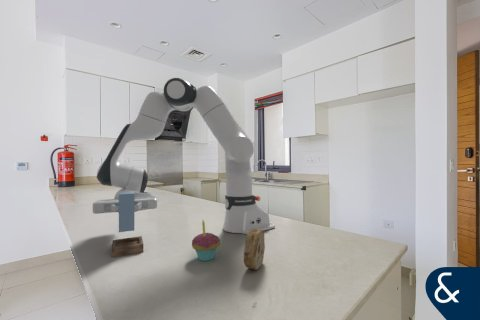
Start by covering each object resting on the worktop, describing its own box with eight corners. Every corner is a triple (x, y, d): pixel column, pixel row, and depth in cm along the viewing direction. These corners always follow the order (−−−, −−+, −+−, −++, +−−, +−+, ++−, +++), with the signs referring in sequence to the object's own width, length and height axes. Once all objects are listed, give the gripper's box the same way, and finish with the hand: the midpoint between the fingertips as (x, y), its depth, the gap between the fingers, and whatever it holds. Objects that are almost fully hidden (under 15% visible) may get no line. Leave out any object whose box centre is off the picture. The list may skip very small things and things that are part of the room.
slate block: (133, 226, 80) (133, 191, 80) (134, 230, 76) (134, 193, 76) (119, 228, 78) (119, 192, 78) (118, 232, 74) (118, 194, 74)
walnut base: (141, 243, 83) (141, 236, 83) (143, 251, 75) (143, 244, 75) (112, 247, 79) (112, 240, 79) (111, 257, 71) (111, 249, 71)
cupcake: (215, 264, 65) (214, 221, 65) (186, 262, 67) (186, 220, 67) (223, 252, 74) (223, 214, 74) (197, 251, 75) (197, 213, 75)
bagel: (254, 258, 70) (254, 224, 70) (266, 260, 68) (266, 225, 68) (241, 274, 60) (240, 235, 60) (254, 276, 58) (254, 236, 58)
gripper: (94, 195, 84) (89, 201, 72) (154, 192, 93) (159, 196, 81) (94, 213, 84) (89, 222, 72) (154, 207, 93) (159, 215, 81)
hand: (126, 208), depth 76 cm, fingers closed on slate block, 4 cm apart
